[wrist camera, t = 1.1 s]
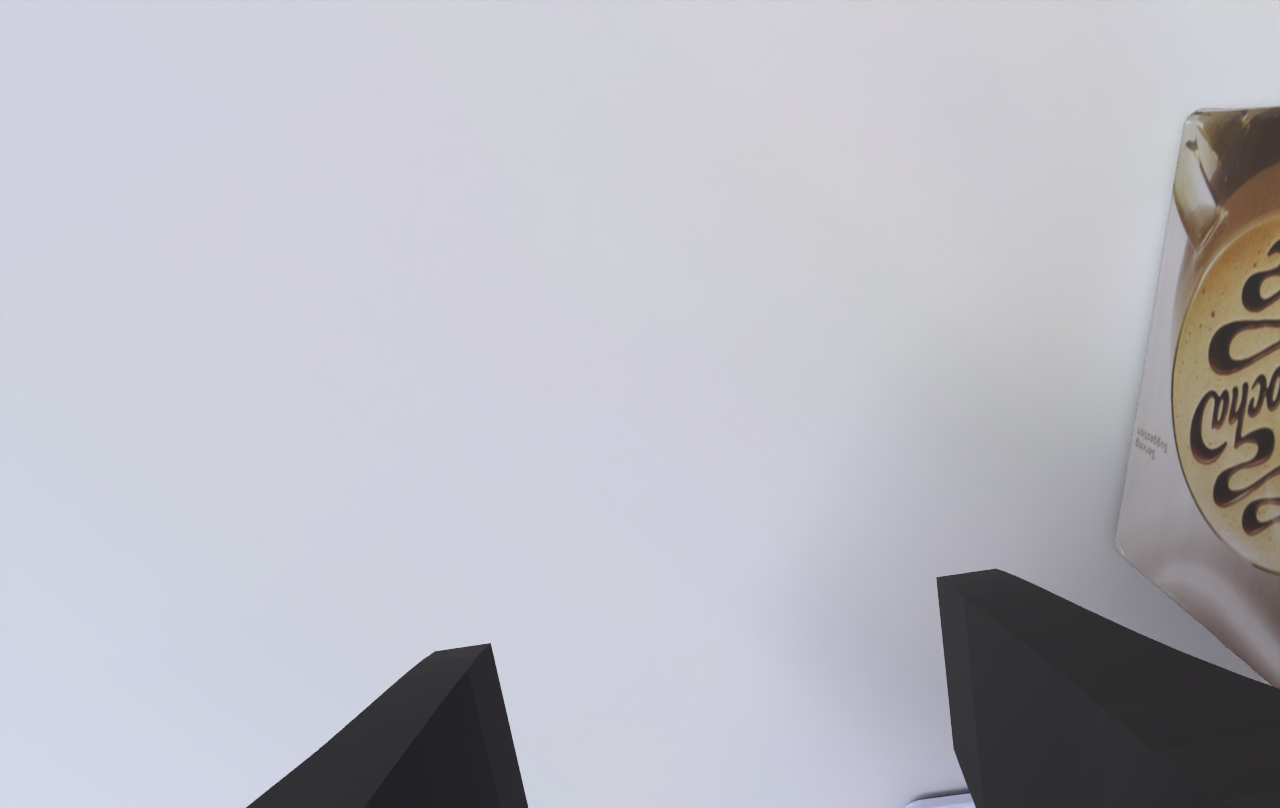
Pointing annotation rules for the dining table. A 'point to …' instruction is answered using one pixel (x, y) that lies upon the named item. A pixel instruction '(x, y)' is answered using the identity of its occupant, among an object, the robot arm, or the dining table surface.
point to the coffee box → (1215, 392)
